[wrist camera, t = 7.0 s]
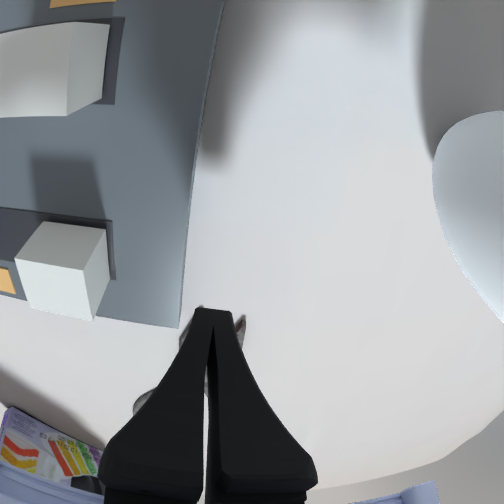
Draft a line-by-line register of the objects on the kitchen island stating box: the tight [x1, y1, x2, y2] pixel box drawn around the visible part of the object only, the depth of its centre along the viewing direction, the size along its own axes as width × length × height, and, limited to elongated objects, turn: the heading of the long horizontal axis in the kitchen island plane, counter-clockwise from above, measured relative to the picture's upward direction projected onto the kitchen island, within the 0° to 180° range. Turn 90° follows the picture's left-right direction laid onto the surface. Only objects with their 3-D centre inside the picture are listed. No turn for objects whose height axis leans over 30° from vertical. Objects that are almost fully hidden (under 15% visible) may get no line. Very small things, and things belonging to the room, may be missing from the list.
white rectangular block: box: [0, 22, 110, 118], centre depth 8 cm, size 4×3×3 cm
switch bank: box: [0, 0, 225, 329], centre depth 12 cm, size 16×19×2 cm
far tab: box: [14, 221, 110, 321], centre depth 13 cm, size 4×3×3 cm
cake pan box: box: [0, 407, 106, 496], centre depth 28 cm, size 19×5×18 cm, turn 37°
